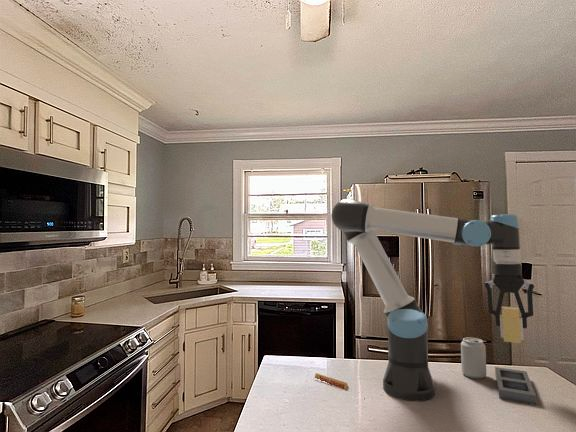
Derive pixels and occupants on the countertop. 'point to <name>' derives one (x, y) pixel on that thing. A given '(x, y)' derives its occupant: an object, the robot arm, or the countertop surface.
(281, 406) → the countertop surface
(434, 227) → the robot arm
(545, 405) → the countertop surface
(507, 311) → the brass block
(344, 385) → the chocolate bar
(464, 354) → the can
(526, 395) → the rack
